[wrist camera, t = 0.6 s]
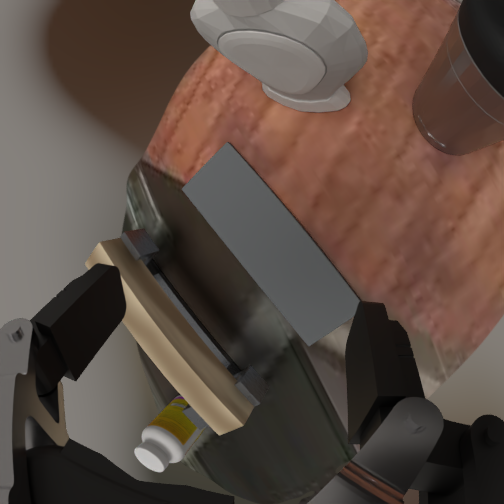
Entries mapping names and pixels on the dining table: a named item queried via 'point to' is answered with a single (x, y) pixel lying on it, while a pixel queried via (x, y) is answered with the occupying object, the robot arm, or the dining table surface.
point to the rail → (174, 342)
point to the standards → (194, 325)
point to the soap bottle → (288, 47)
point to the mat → (271, 245)
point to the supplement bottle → (167, 437)
